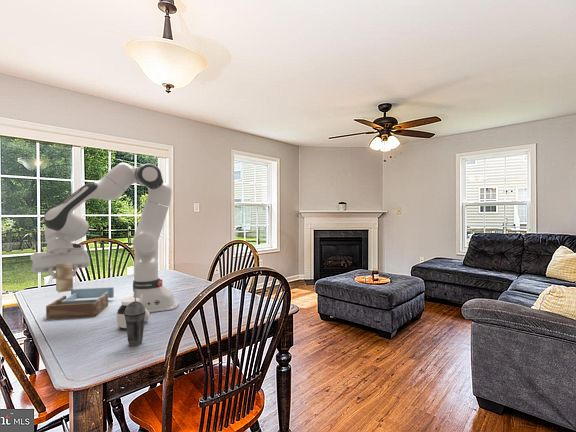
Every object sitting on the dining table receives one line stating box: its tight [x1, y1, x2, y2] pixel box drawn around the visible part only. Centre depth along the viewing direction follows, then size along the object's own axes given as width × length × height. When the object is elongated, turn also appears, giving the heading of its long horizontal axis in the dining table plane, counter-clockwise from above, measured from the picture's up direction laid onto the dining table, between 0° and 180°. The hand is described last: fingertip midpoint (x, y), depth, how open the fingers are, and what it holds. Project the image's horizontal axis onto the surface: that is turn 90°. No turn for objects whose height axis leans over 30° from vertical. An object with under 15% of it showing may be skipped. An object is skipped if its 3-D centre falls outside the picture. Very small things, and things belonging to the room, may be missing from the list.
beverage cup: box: [124, 289, 146, 348], centre depth 117 cm, size 7×7×20 cm
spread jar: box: [116, 297, 151, 331], centre depth 136 cm, size 12×11×12 cm
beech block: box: [55, 263, 74, 293], centre depth 134 cm, size 5×5×11 cm
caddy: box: [45, 294, 109, 320], centre depth 153 cm, size 17×20×6 cm
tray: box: [61, 286, 115, 305], centre depth 163 cm, size 19×20×5 cm
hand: (64, 276), depth 133 cm, fingers closed on beech block, 5 cm apart
